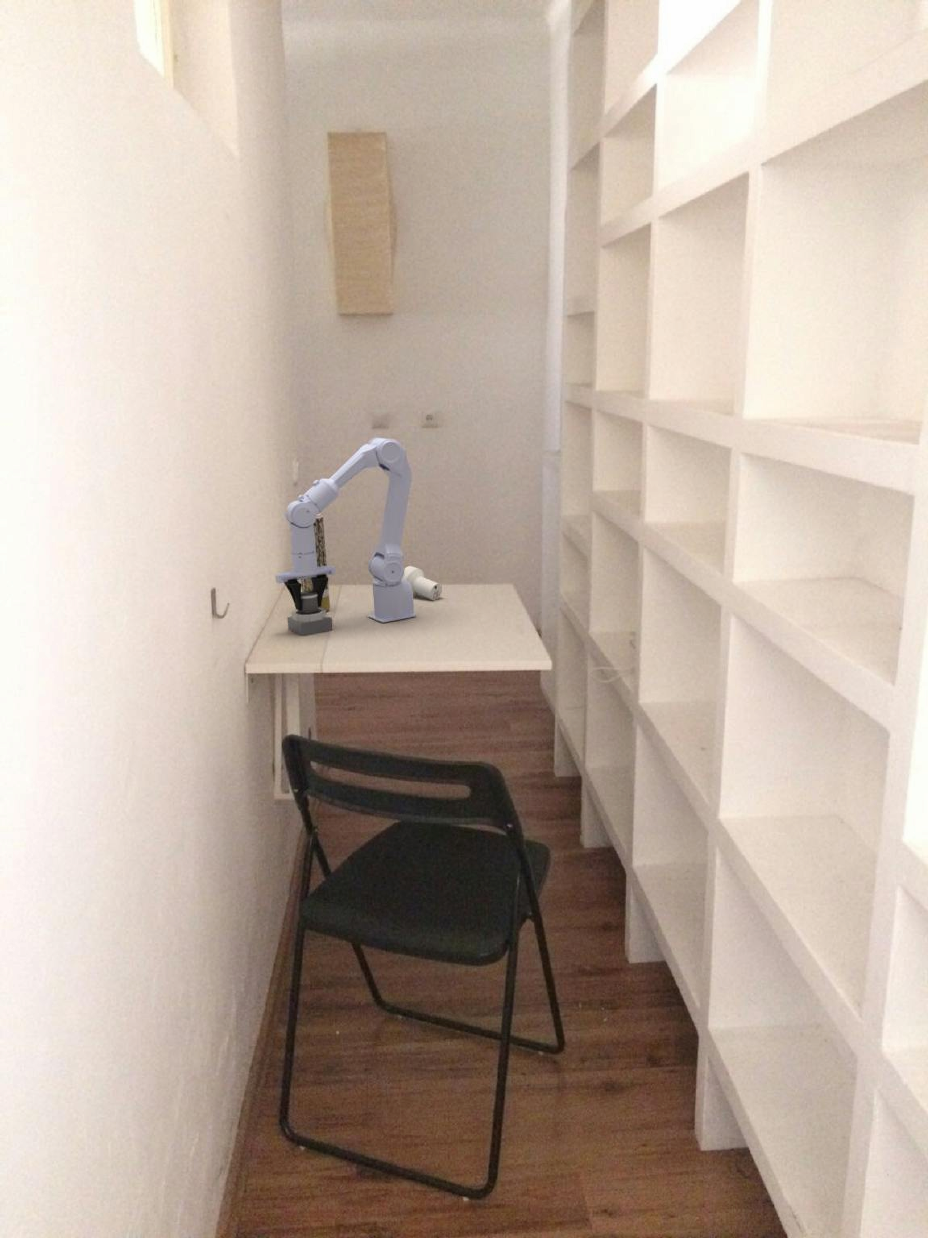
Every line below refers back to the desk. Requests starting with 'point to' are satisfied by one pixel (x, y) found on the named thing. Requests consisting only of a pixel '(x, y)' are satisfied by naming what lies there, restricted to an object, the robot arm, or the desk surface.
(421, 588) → the spotlight
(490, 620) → the desk surface
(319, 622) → the mount
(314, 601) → the lens
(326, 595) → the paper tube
